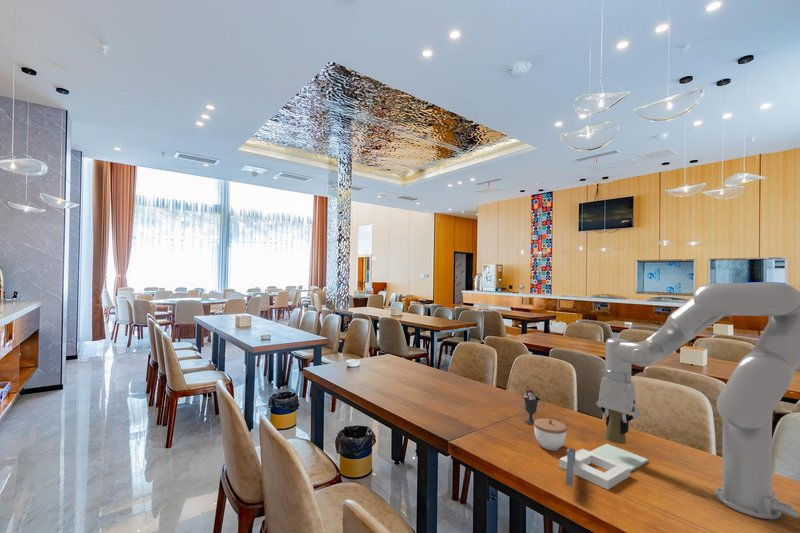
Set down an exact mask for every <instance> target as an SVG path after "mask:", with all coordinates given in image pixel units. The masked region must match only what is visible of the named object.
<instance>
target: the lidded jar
mask: <svg viewBox="0 0 800 533" xmlns="http://www.w3.org/2000/svg"><path fill="white" fill-rule="evenodd" d="M533 421H534V425H533V426H534V430H533V431H534V436H535V438H536V440H537V442H538V443H539V445H540V447H542V448H543V449H545V450H548V451H559V450H560V448H562V447H563V445H565V443H566V439H567V430H568V427H567V425H566V424H565V423H563V422H561V421H558V420H555V419H552V418H537V419H535V420H533Z"/></svg>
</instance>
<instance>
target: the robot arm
mask: <svg viewBox="0 0 800 533" xmlns="http://www.w3.org/2000/svg"><path fill="white" fill-rule="evenodd" d="M725 316H740V317H742V316H743V317H744V316H746V317H747V316H749V317H755V316H756V317H768V322H767V324H766V326H765V328H764V330H762V333H761V334H760V335H759V336H760V337H759V338H758V339H757V341H756V343H755V345H754V346H753V348H752V349H751V351H750V352H749V353H748V354H746V355H745V356H744V357H742V359H740V361H739V362H738V364H737V365H736V367H735V369H734V370H733V371H732V374H731V375H730V376H729V379H728V380H727V382H726V384H725V385H724V387H723V389H722V391H721V392H720V394H719V396H718V397H717V399H716V410H717V412H718V414H719V416H720V417H721V418H722V439H721V440H722V444H721V445H722V451H721V452H722V454H721V455H722V486H719V487H717V488H715V490H714V493H715V497H716V498H717V499H718V500H719V501H720V502H721V503H722V504H724V505H726V506H727V507H728V508H731V509H733V510H735V511H737V512H739V513H742V514H745V515H748V516H751V517H753V518H759V519H763V520H777V519H780V518H781V516H782V514H784V515H787V516H788V517H790V518H794V519H797V518H798V510H797V509H794V508H793V505H792V504H789V503H786V502H783V501H780V500H779V499H777V496H776V495H777V494H776V493H775V492H773V471H772V468H773V467H772V465H773V464H772V463H773V462H772V460H773V458H772V457H773V455H772V453H773V443H772V442H773V413H774V411H775V409H776V408H777V406H778V405H779V403H780V401H781V400H782V398H784V395H785V394H786V392H787V391H788V389H789V387H790V385H791V384H792V382H793V378H794V375H795V372H796V369H797V367H798V366H799V364H800V291H799V290H798V289H797V288H795V287H793V286H792V285H790V284H787V283H784V282H777V281H759V282H756V281H755V282H736V283H735V282H730V283H729V282H724V283H723V282H722V283H721V282H718V283H717V282H716V283H714V282H711V283H706V284H703V285H701V286H700V287H698V288H697V289H696V291H695V292H694V294H693V296H692V297H691V298H690V299H688V300H686V302H685V303H684V304H682V305H681V306H679V307H678V308H677V309H675V310H674V311H673V312H671V313H670V314H669V315H668V317H667V319H666V321H665V322H664V324H663V325H662V326H661V327H659V329H657V331H656V332H654V333H653V334H652V335H650V336H649V337H648V338H646V339H645V340H642V341H638V342H632V341H630V340H629V339H624V338H620V337H619V338H618V337H610V338H607V339H606V341H605V360H604V361H605V362H604V363H605V365H604V366H605V367H604V368H601V373H603V374H604V376H603V377H602V378H601V382H600V385H599V386H600V388H599V394H598V399H597V401H596V402H595V405H596V406H597V408H599V409H600V410H601V411H602V413H603V414H604V417H605V425H606V428H607V427H608V423H609V416H610V415H609V413H608V409H610V410H613V411H616V412H619V413H622V419H623V420H622V422H621V434H623V435H624V434H625V435H626V434H627V433H628V432H629V428H630V427H629V426H630V425H629V422H631V421H632V420H635V419H638V418H641V416H642V415H641V413H640V411H639V409H638V408H637V396H636V390H635V386H634V385H635V384H634V382H633V381H632V365H634V366H637V367H643V368H645V367H650V366H653V365H654V364H657V363H660V362H661V361H663V360H665V359H666V358H668V356H671V354H673V353H674V352H675V351H677V350H678V349H679V348H681V347H682V346H684V345H685V344H686V343H688V342H690V341H692V340H693V339H695V337H697V336H699V335H700V334H701V333H703V332H704V331H705V330H706V329H708V328H709V327H711V326H712V325H714V324H715V323H716V322H718V321H720V320H721V319H722V318H724V317H725Z"/></svg>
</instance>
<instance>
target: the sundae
mask: <svg viewBox="0 0 800 533" xmlns="http://www.w3.org/2000/svg"><path fill="white" fill-rule="evenodd" d="M525 387H526V391H525V392H526V393H524V395H523V396H522V398H523V400H524V405H525V406H524V407H525V411H526V413H528V416H529V417H528V419H526V420H524V421H525V422H526V423H525V422H524V423H525V424H527V423H528V424H527V425H530V424H534V421H535V420H534V419H533V415H534V414H535V413H536V412H537V409H538V403H539V401H541V399H540V397H539V395H540V394H539V393H538V395H537V393H535V391H533V390H532V389H530V387H529V386H528V385H525Z"/></svg>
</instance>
